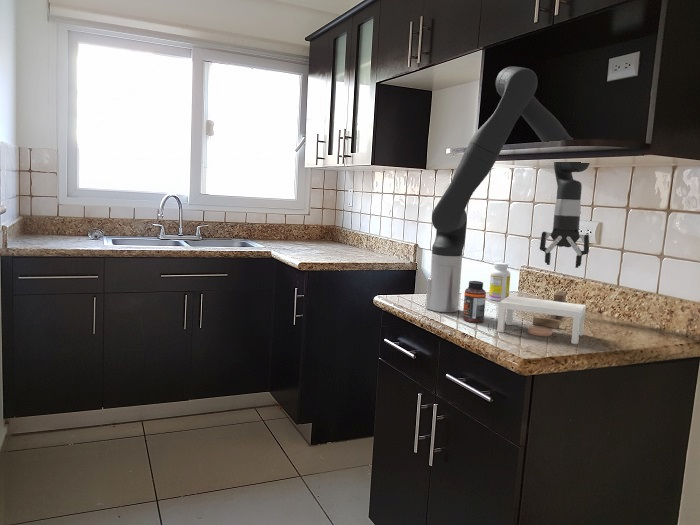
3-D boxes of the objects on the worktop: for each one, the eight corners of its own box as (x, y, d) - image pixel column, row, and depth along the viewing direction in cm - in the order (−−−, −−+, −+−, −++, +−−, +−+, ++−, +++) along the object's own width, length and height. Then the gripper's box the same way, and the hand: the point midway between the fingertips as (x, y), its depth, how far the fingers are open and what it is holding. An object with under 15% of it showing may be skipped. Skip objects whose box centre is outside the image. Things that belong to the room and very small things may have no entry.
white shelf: (496, 331, 149) (499, 302, 148) (507, 323, 160) (509, 295, 159) (577, 344, 140) (580, 312, 139) (582, 334, 150) (585, 305, 149)
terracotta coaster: (526, 334, 148) (527, 328, 148) (529, 329, 154) (530, 324, 154) (550, 338, 146) (551, 332, 146) (552, 333, 151) (553, 328, 151)
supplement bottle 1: (458, 318, 163) (461, 280, 162) (476, 318, 165) (479, 280, 163) (469, 323, 157) (472, 283, 156) (487, 322, 159) (490, 283, 158)
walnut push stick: (532, 324, 159) (534, 304, 158) (549, 308, 185) (550, 290, 184) (558, 328, 156) (560, 307, 155) (571, 311, 181) (573, 293, 181)
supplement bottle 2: (503, 298, 200) (506, 262, 198) (511, 301, 194) (514, 264, 192) (485, 297, 199) (488, 261, 197) (493, 301, 193) (496, 264, 191)
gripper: (541, 213, 174) (536, 265, 176) (590, 215, 168) (585, 269, 170) (545, 213, 181) (541, 263, 183) (593, 215, 174) (588, 267, 176)
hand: (562, 266), depth 176 cm, fingers open, 8 cm apart
